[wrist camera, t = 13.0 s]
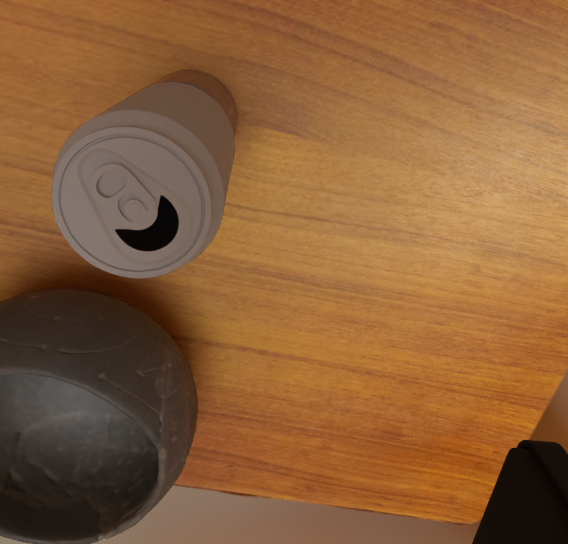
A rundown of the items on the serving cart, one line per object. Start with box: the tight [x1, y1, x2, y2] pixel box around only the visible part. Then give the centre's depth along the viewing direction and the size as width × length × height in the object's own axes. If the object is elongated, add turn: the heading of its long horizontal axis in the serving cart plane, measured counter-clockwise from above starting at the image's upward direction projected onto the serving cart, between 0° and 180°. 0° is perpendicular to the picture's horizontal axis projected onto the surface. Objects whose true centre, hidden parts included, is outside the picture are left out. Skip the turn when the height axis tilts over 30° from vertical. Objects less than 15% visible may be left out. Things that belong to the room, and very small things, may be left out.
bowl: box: [0, 289, 198, 544], centre depth 39 cm, size 18×18×13 cm
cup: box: [145, 69, 238, 141], centre depth 34 cm, size 6×6×8 cm
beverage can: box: [51, 82, 235, 278], centre depth 25 cm, size 6×6×12 cm
